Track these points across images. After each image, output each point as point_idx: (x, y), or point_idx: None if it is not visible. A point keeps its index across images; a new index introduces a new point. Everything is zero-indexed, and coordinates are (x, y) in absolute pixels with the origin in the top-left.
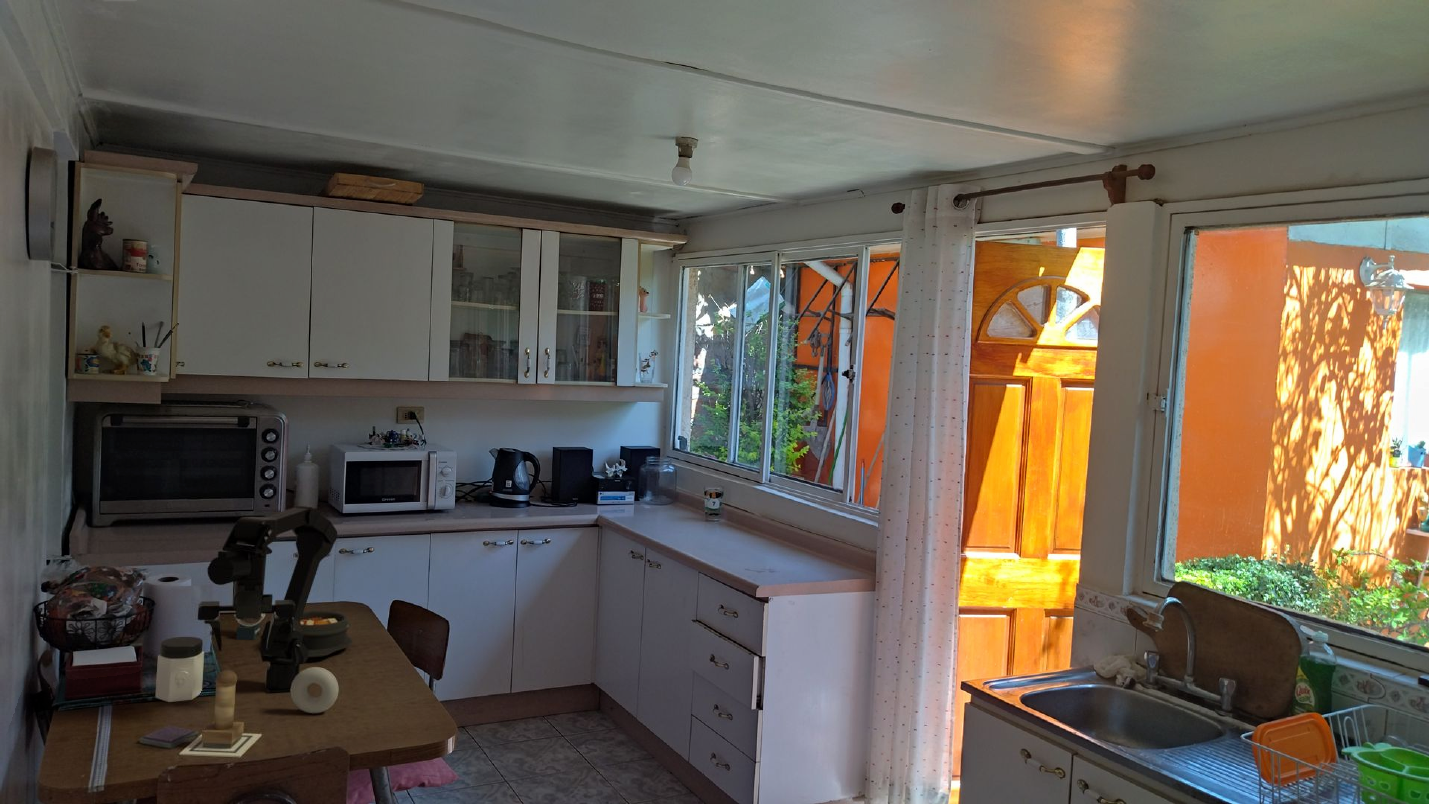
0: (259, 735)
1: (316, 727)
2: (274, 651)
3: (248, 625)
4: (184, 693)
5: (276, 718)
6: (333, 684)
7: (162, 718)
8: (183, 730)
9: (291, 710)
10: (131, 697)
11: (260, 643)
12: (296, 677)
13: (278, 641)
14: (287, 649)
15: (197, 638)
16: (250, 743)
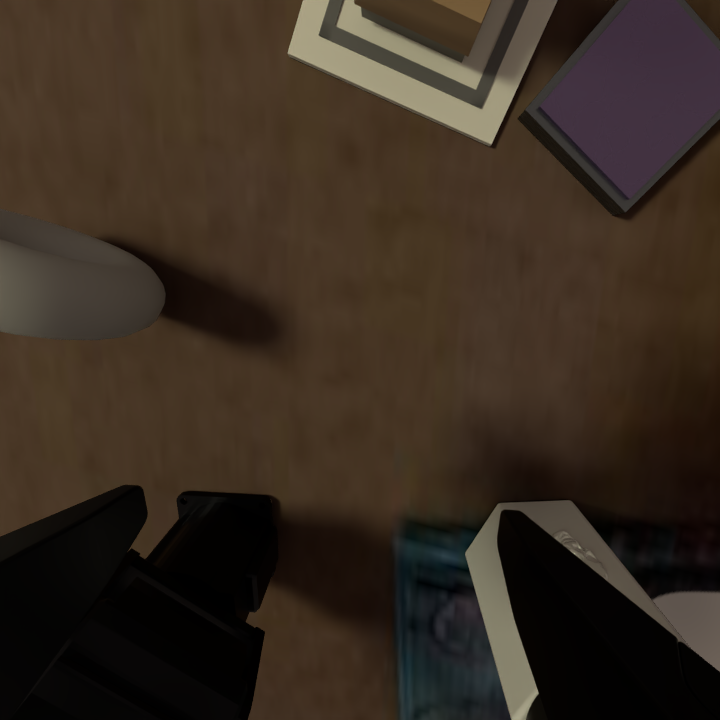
0: (294, 36)
1: (97, 104)
2: (177, 626)
3: None
4: (532, 517)
5: (240, 248)
6: None
7: (609, 354)
8: (581, 118)
9: (195, 318)
10: (668, 572)
11: (235, 710)
12: (66, 287)
13: (120, 686)
14: (95, 606)
15: None
16: None
